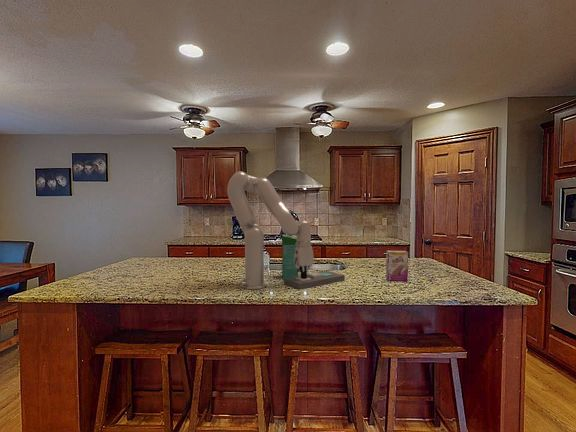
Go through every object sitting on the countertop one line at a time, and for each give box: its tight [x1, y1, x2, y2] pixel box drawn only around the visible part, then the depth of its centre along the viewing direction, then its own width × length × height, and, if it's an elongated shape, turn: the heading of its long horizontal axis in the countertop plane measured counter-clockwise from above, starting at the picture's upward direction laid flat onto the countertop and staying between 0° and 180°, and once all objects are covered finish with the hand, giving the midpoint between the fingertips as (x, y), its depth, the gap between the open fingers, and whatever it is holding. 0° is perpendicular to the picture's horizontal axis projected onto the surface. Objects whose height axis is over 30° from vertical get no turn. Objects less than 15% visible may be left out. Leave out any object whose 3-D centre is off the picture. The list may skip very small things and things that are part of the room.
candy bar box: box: [385, 250, 409, 282], centre depth 179 cm, size 11×5×16 cm, turn 84°
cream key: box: [296, 277, 311, 281], centre depth 170 cm, size 6×6×2 cm
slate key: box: [307, 272, 323, 279], centre depth 175 cm, size 6×6×2 cm
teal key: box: [321, 273, 333, 277], centre depth 179 cm, size 6×6×2 cm
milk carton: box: [281, 233, 299, 280], centre depth 186 cm, size 9×9×25 cm
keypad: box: [283, 270, 346, 291], centre depth 175 cm, size 32×14×3 cm, turn 126°
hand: (303, 278), depth 170 cm, fingers closed
